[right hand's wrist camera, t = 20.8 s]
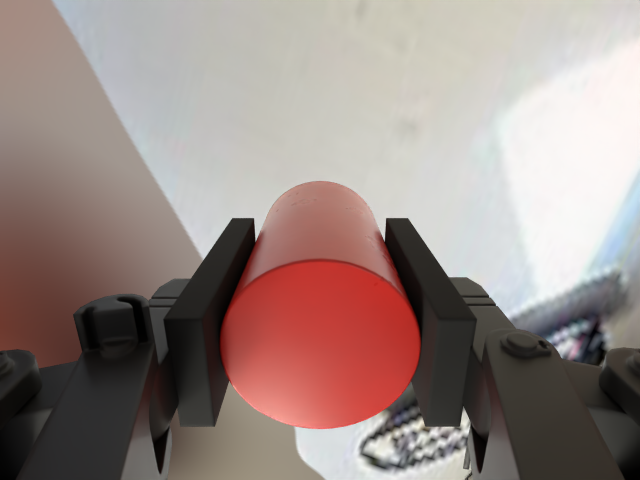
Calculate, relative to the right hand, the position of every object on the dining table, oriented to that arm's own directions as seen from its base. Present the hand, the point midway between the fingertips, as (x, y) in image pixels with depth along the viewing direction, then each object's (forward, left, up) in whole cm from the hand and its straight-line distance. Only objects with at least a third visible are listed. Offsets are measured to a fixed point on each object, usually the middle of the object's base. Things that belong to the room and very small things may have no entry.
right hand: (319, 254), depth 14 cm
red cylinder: (0, 0, -2) cm, 2 cm away
